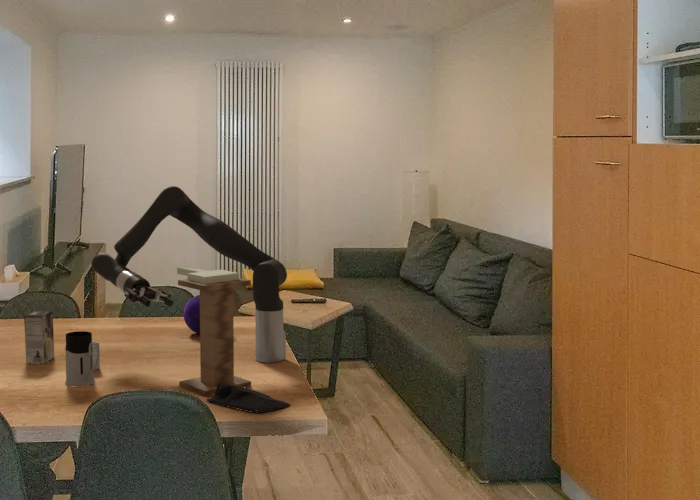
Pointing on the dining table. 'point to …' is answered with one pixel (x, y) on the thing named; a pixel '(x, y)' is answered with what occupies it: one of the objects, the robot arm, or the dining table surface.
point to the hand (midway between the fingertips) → (160, 304)
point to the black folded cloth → (245, 399)
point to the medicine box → (95, 355)
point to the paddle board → (207, 275)
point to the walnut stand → (215, 336)
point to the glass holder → (80, 359)
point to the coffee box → (39, 337)
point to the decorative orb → (193, 314)
